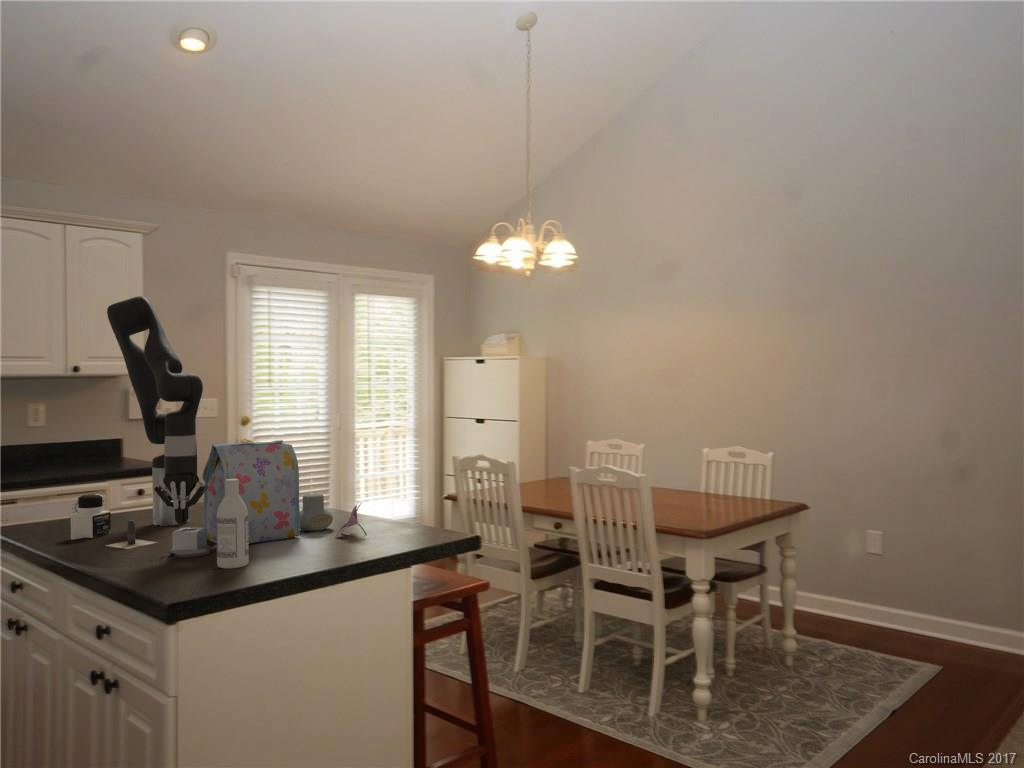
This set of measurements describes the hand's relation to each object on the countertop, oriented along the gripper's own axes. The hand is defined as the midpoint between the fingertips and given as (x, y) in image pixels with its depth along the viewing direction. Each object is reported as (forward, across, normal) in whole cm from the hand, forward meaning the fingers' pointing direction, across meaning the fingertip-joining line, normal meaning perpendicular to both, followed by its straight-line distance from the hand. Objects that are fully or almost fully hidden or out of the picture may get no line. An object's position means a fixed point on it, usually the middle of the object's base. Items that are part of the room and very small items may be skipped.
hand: (181, 523), depth 199 cm
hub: (+8, -2, 0) cm, 8 cm away
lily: (+8, -38, -22) cm, 44 cm away
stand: (+8, +16, -8) cm, 20 cm away
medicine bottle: (+8, +34, -22) cm, 41 cm away
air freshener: (+8, -25, -30) cm, 40 cm away
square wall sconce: (+6, -2, 0) cm, 6 cm away
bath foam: (+8, -17, +13) cm, 23 cm away
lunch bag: (+8, -12, -17) cm, 22 cm away
